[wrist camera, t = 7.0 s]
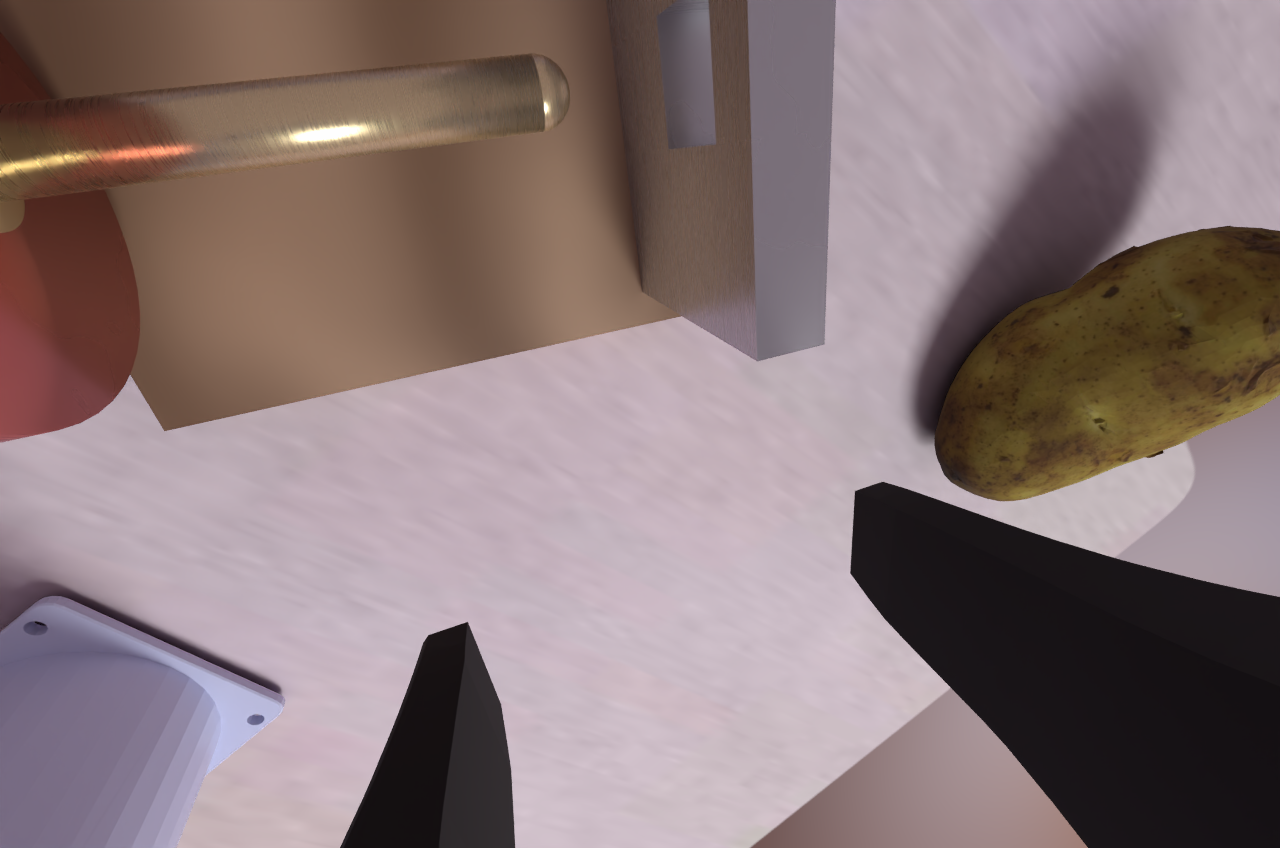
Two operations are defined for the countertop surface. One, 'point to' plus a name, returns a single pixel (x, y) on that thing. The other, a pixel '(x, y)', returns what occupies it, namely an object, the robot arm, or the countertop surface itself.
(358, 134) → the copper disc on rod
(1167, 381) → the potato
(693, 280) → the eye plate
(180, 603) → the countertop surface
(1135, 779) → the robot arm
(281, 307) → the base board
